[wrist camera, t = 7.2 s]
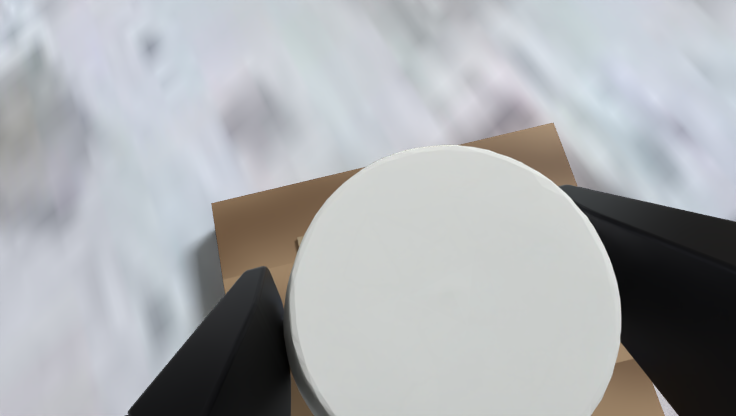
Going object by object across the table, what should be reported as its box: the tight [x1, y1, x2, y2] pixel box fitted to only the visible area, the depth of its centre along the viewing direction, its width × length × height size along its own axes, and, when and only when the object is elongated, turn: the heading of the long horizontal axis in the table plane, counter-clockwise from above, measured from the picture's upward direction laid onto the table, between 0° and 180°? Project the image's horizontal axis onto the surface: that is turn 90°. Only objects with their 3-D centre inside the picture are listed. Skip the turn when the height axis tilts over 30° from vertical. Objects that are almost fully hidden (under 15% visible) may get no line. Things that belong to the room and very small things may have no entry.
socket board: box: [211, 123, 665, 416], centre depth 19 cm, size 22×16×3 cm
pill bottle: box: [283, 145, 621, 416], centre depth 10 cm, size 6×5×10 cm
